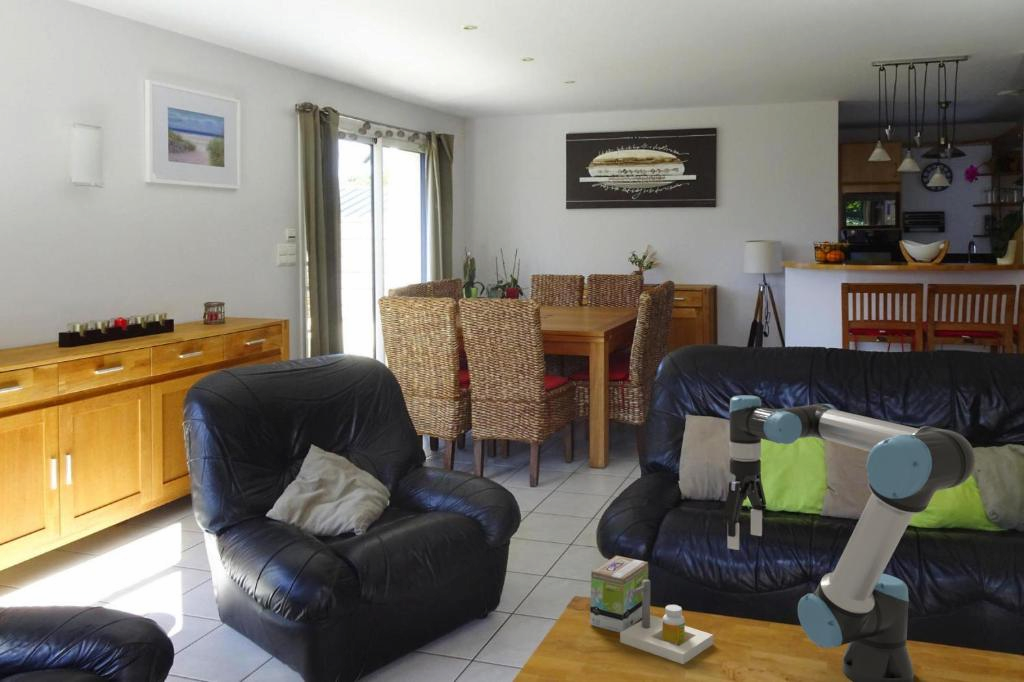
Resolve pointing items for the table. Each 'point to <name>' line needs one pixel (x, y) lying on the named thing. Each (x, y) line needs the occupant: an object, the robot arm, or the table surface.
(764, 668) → the table surface
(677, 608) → the supplement bottle
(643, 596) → the white square-hole base
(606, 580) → the tea box
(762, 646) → the table surface
